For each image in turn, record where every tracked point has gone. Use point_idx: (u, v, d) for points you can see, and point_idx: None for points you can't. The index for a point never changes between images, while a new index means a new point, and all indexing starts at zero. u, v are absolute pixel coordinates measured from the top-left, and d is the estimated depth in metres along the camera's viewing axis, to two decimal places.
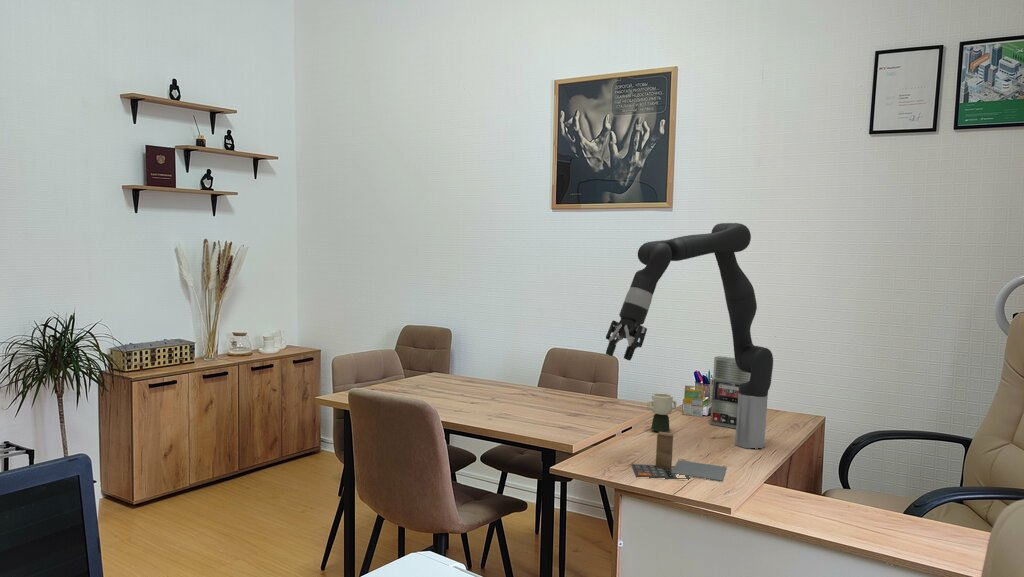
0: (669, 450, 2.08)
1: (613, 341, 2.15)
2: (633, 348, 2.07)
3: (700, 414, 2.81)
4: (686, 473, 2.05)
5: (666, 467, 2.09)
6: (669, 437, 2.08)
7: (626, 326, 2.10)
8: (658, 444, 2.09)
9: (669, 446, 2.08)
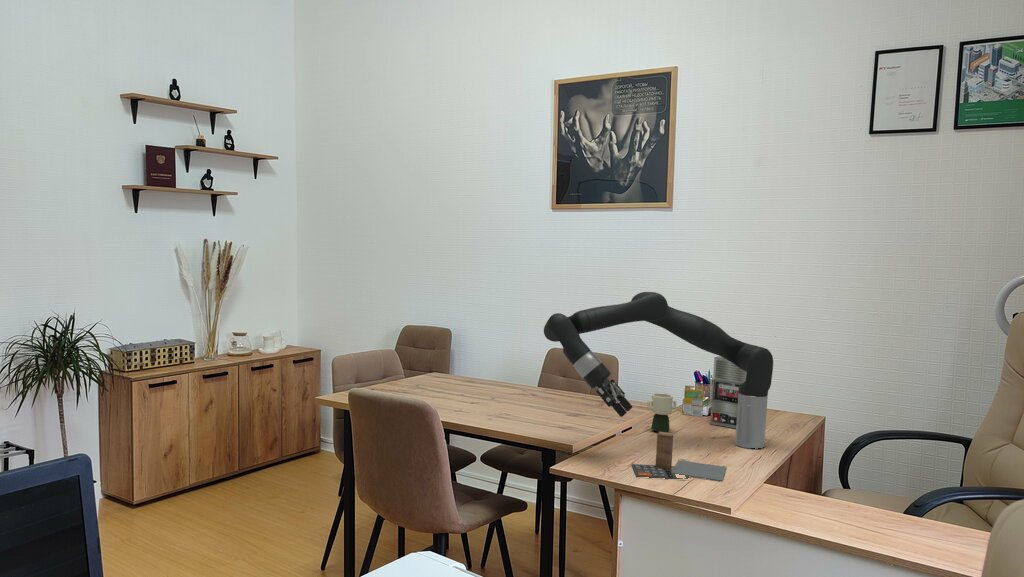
0: (669, 450, 2.08)
1: (620, 399, 2.19)
2: (615, 405, 2.10)
3: (700, 414, 2.81)
4: (686, 473, 2.05)
5: (666, 467, 2.09)
6: (669, 437, 2.08)
7: None
8: (658, 444, 2.09)
9: (669, 446, 2.08)
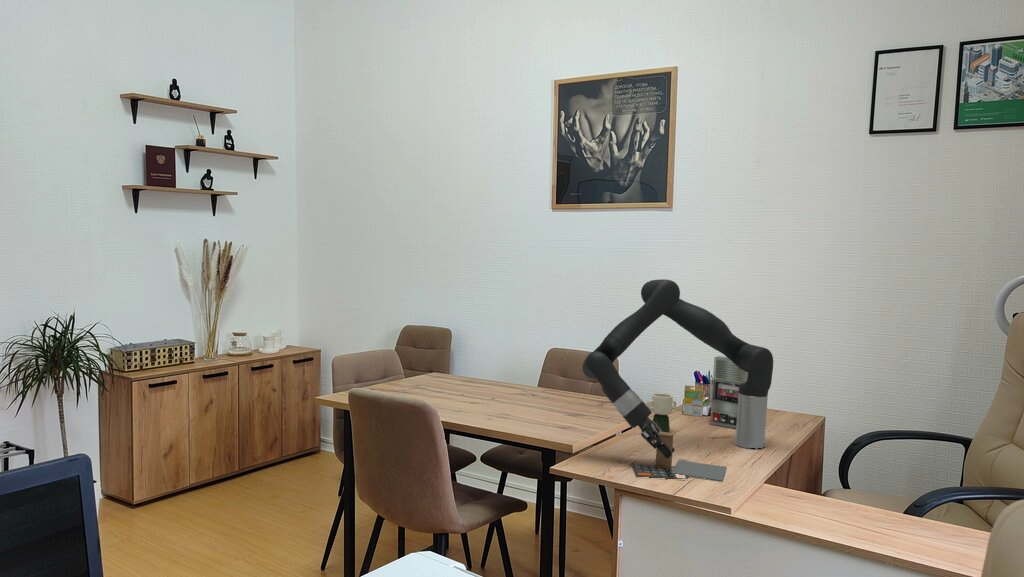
0: None
1: None
2: (661, 447, 2.08)
3: (700, 414, 2.81)
4: (686, 473, 2.05)
5: (666, 467, 2.09)
6: (669, 437, 2.08)
7: None
8: None
9: (669, 446, 2.08)
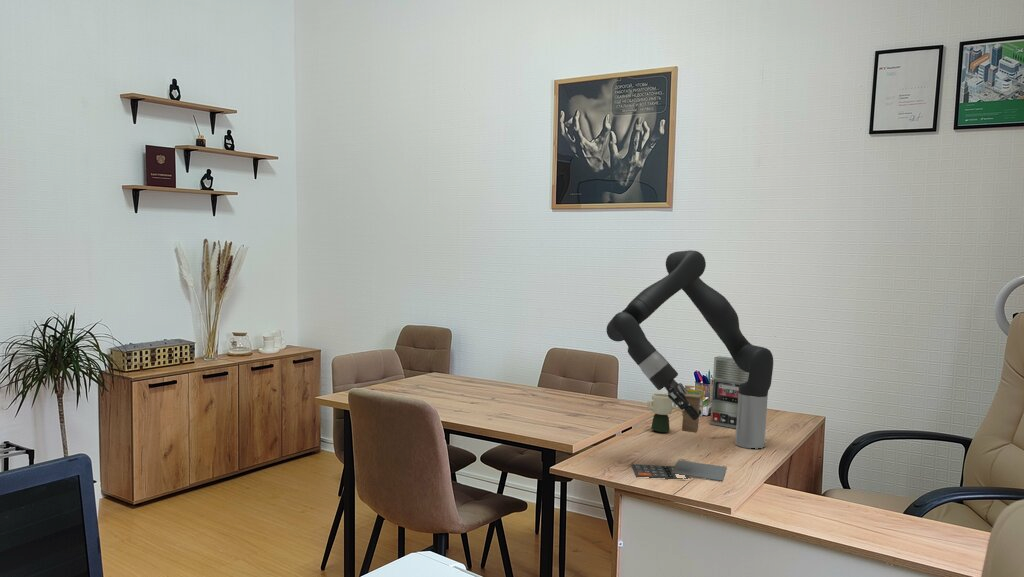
0: None
1: None
2: (688, 408, 2.04)
3: (700, 414, 2.81)
4: (686, 473, 2.05)
5: (693, 429, 2.05)
6: (696, 399, 2.05)
7: (668, 394, 2.08)
8: None
9: (696, 408, 2.05)
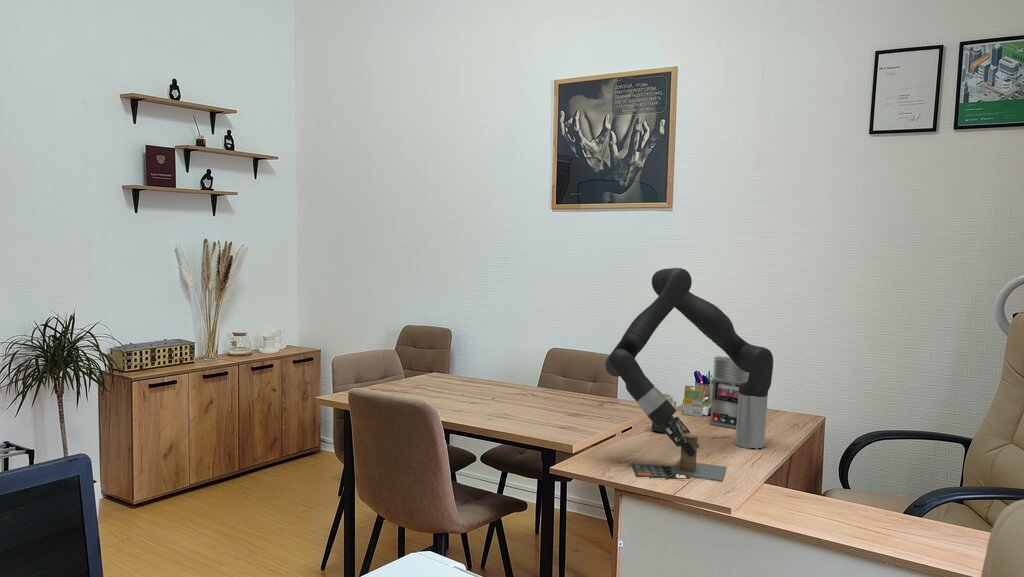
0: None
1: None
2: (684, 445, 2.04)
3: (700, 414, 2.81)
4: (686, 473, 2.05)
5: (691, 469, 2.06)
6: (694, 439, 2.06)
7: None
8: None
9: (694, 448, 2.06)
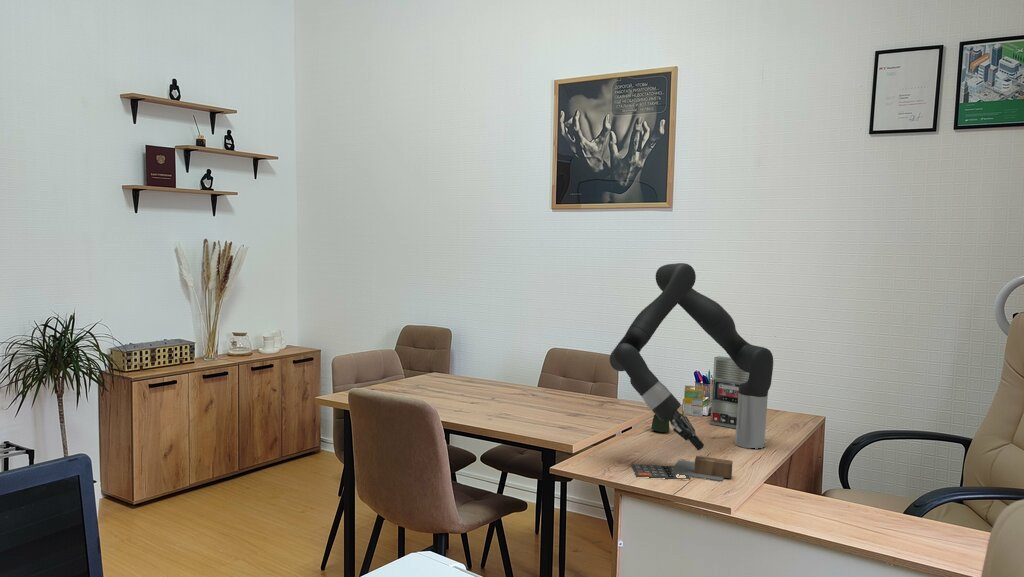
0: (715, 474, 2.04)
1: None
2: (692, 439, 2.06)
3: (700, 414, 2.81)
4: (686, 473, 2.05)
5: (697, 470, 2.06)
6: (729, 476, 2.02)
7: (671, 425, 2.08)
8: (721, 464, 2.03)
9: (719, 475, 2.03)
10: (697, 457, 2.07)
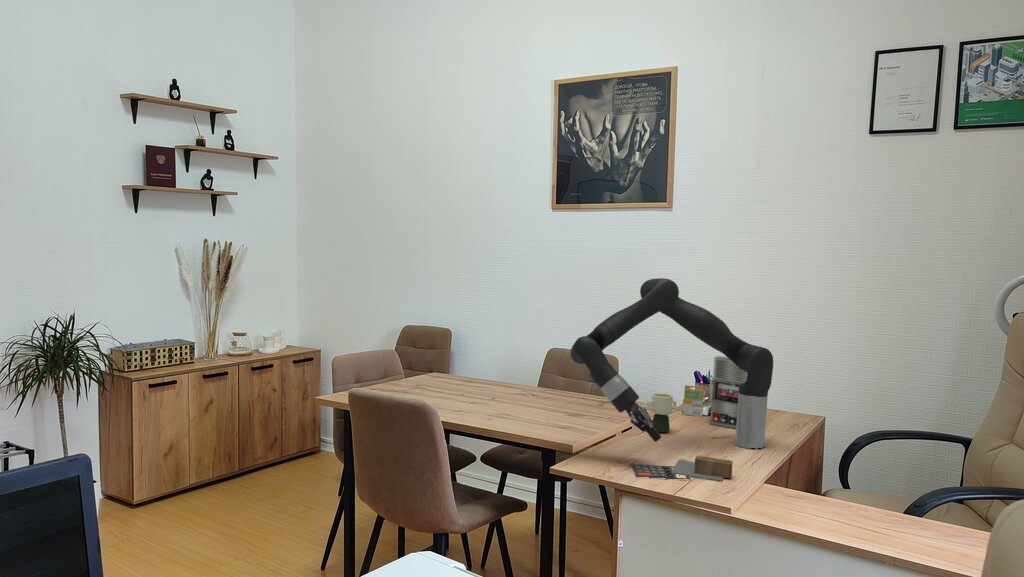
0: (715, 474, 2.04)
1: None
2: (649, 430, 2.10)
3: (700, 414, 2.81)
4: (686, 473, 2.05)
5: (697, 470, 2.06)
6: (729, 476, 2.02)
7: (629, 417, 2.12)
8: (721, 464, 2.03)
9: (719, 475, 2.03)
10: (697, 457, 2.07)
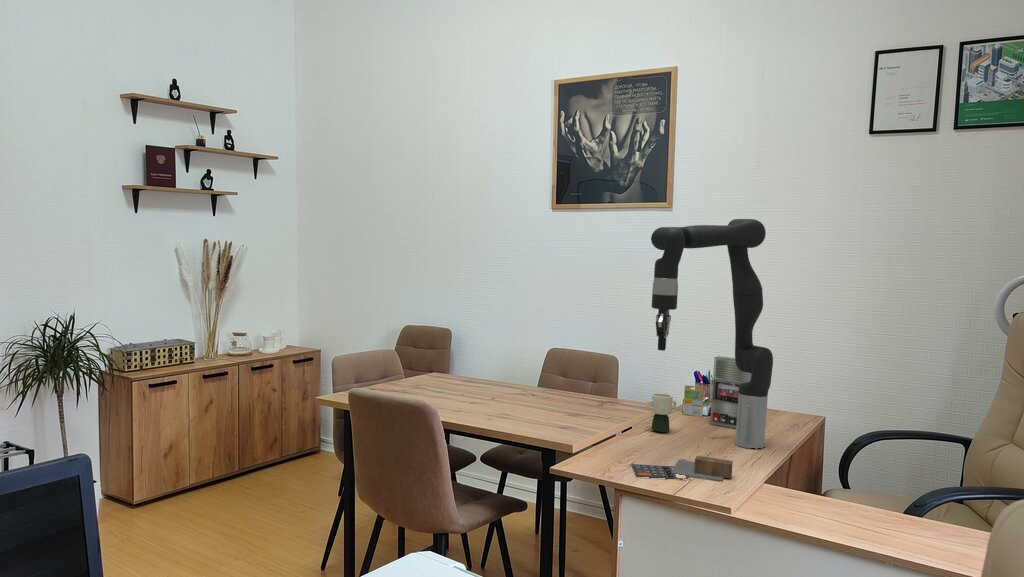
0: (715, 474, 2.04)
1: None
2: (661, 338, 2.18)
3: (700, 414, 2.81)
4: (686, 473, 2.05)
5: (697, 470, 2.06)
6: (729, 476, 2.02)
7: (656, 317, 2.19)
8: (721, 464, 2.03)
9: (719, 475, 2.03)
10: (697, 457, 2.07)
